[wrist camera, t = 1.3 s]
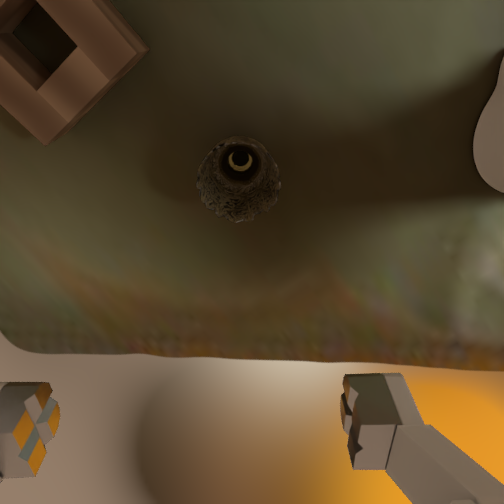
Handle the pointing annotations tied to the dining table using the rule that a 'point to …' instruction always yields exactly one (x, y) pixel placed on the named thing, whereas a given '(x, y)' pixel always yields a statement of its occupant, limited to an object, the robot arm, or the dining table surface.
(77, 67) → the socket block
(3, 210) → the dining table surface
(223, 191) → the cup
